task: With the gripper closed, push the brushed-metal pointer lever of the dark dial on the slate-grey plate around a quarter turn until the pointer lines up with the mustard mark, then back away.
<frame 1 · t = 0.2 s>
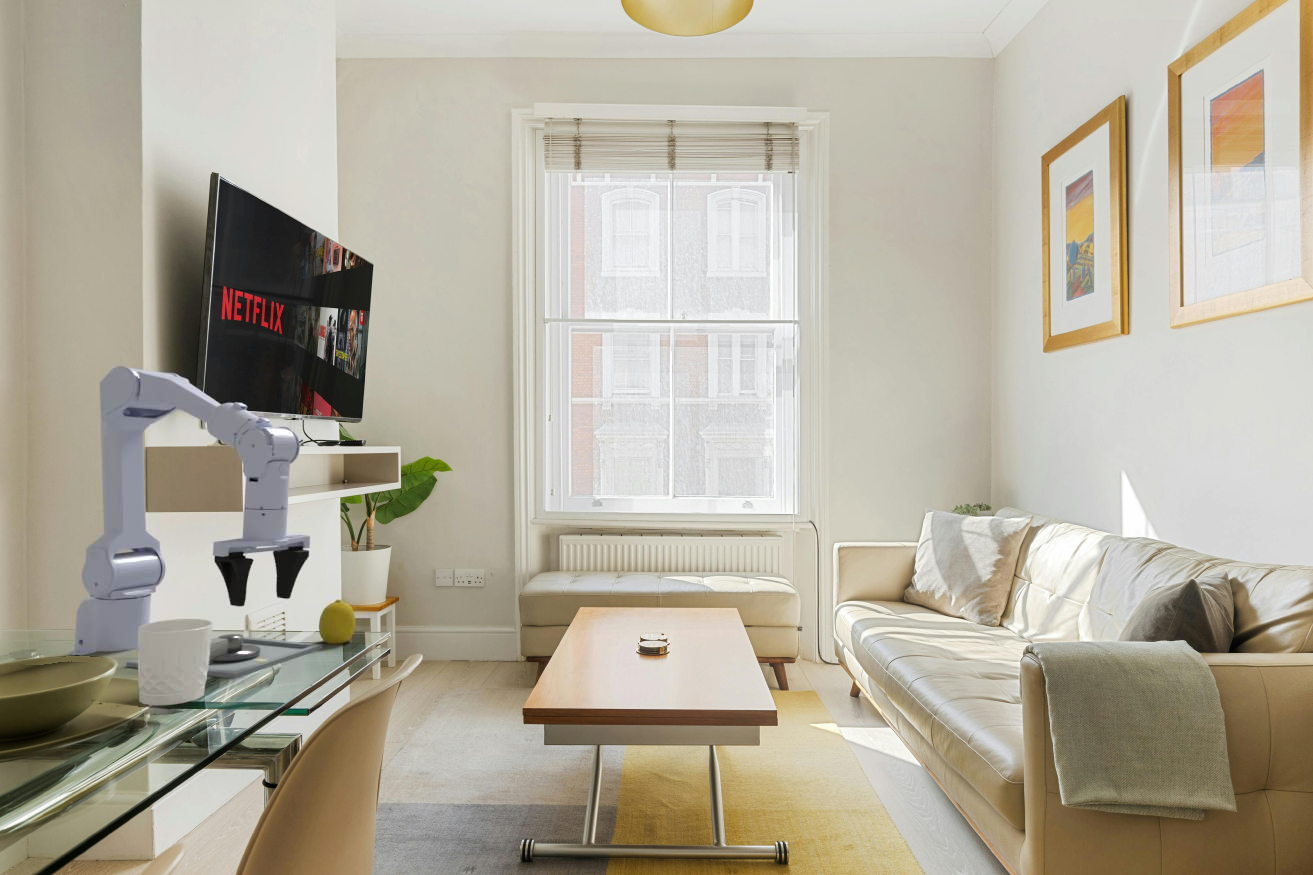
hand: (261, 601, 113), 10 cm above the table, tool pointing down, fingers open, 7 cm apart
white cup: (172, 707, 96), on the table
dial: (222, 648, 114), point 3 cm above the table, hinge at -90.0°
dial plate: (229, 664, 115), on the table
lemon: (336, 649, 127), on the table
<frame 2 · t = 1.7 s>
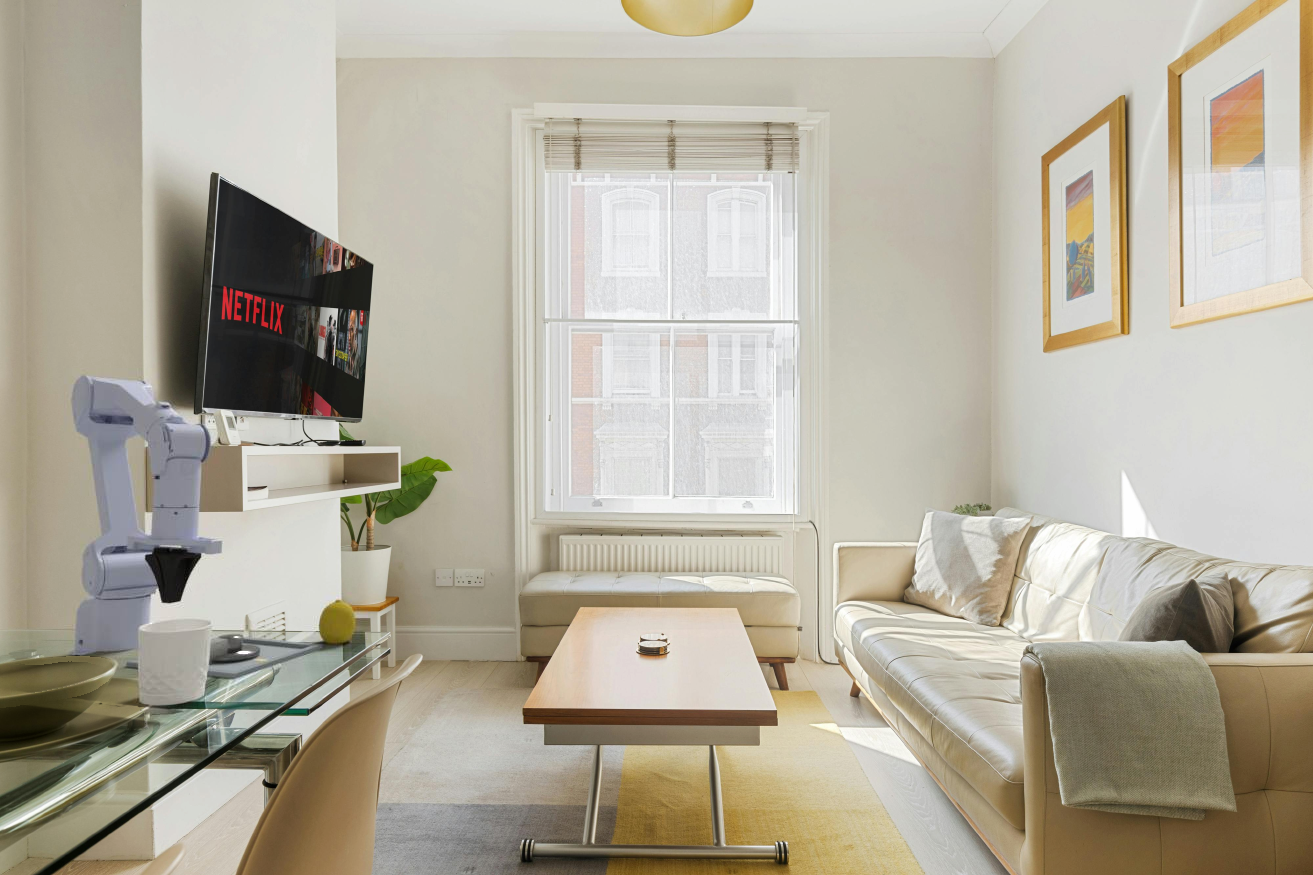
hand: (171, 602, 111), 10 cm above the table, tool pointing down, fingers closed
nothing on the table moved.
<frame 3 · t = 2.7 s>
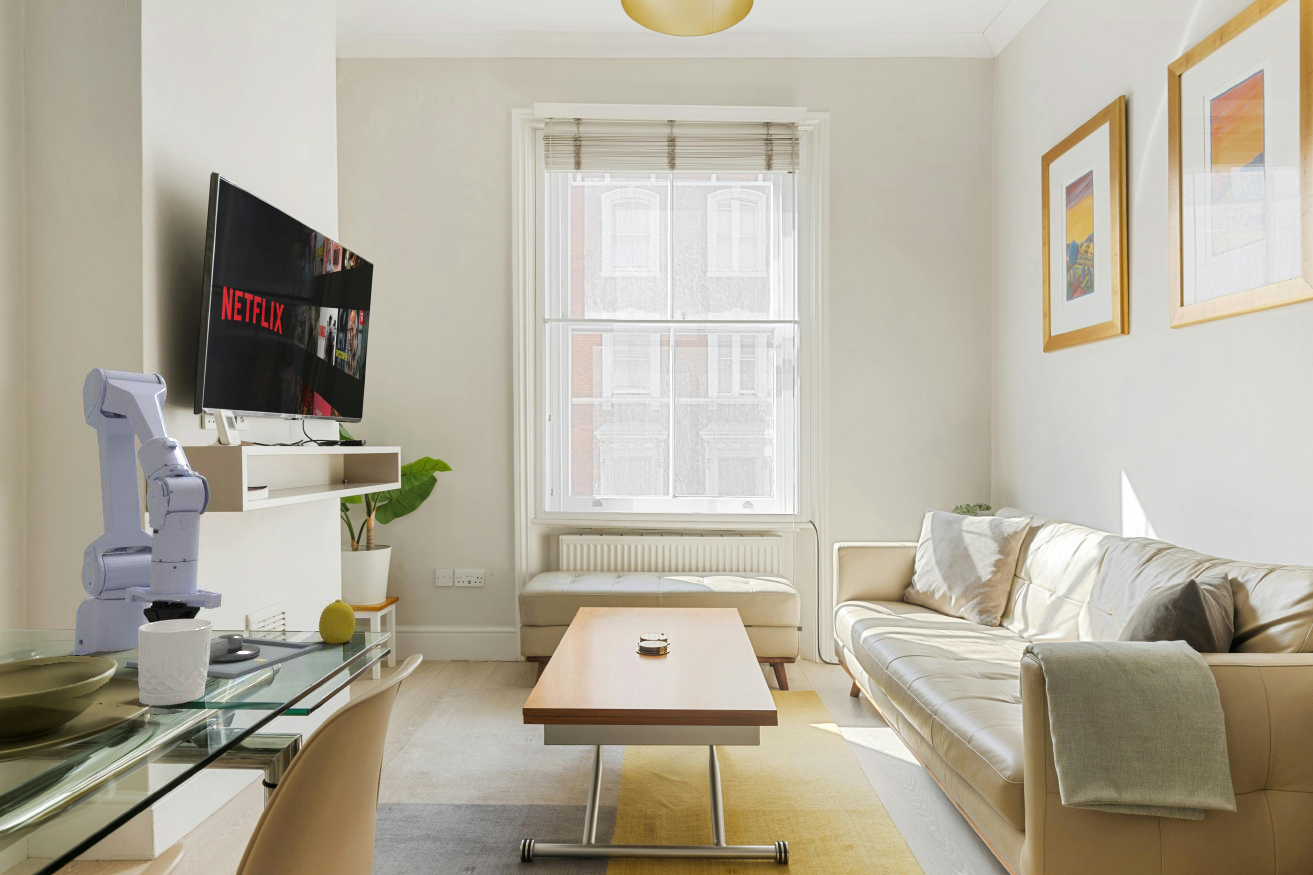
hand: (169, 655, 111), 2 cm above the table, tool pointing down, fingers closed
nothing on the table moved.
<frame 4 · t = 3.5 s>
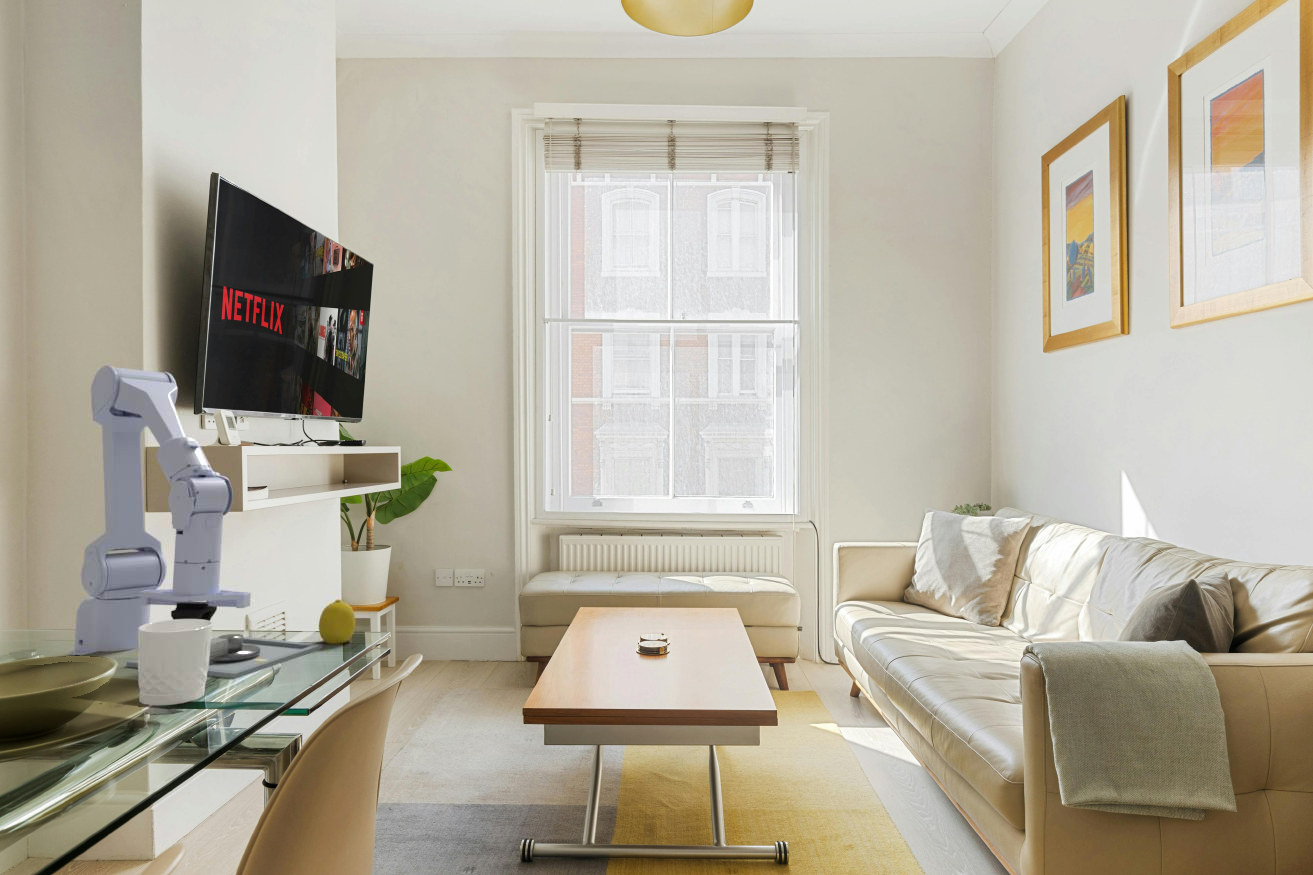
hand: (192, 657, 110), 2 cm above the table, tool pointing down, fingers closed, pressing on dial
dial: (222, 648, 114), point 3 cm above the table, hinge at -87.3°, touching gripper
everything else where it was.
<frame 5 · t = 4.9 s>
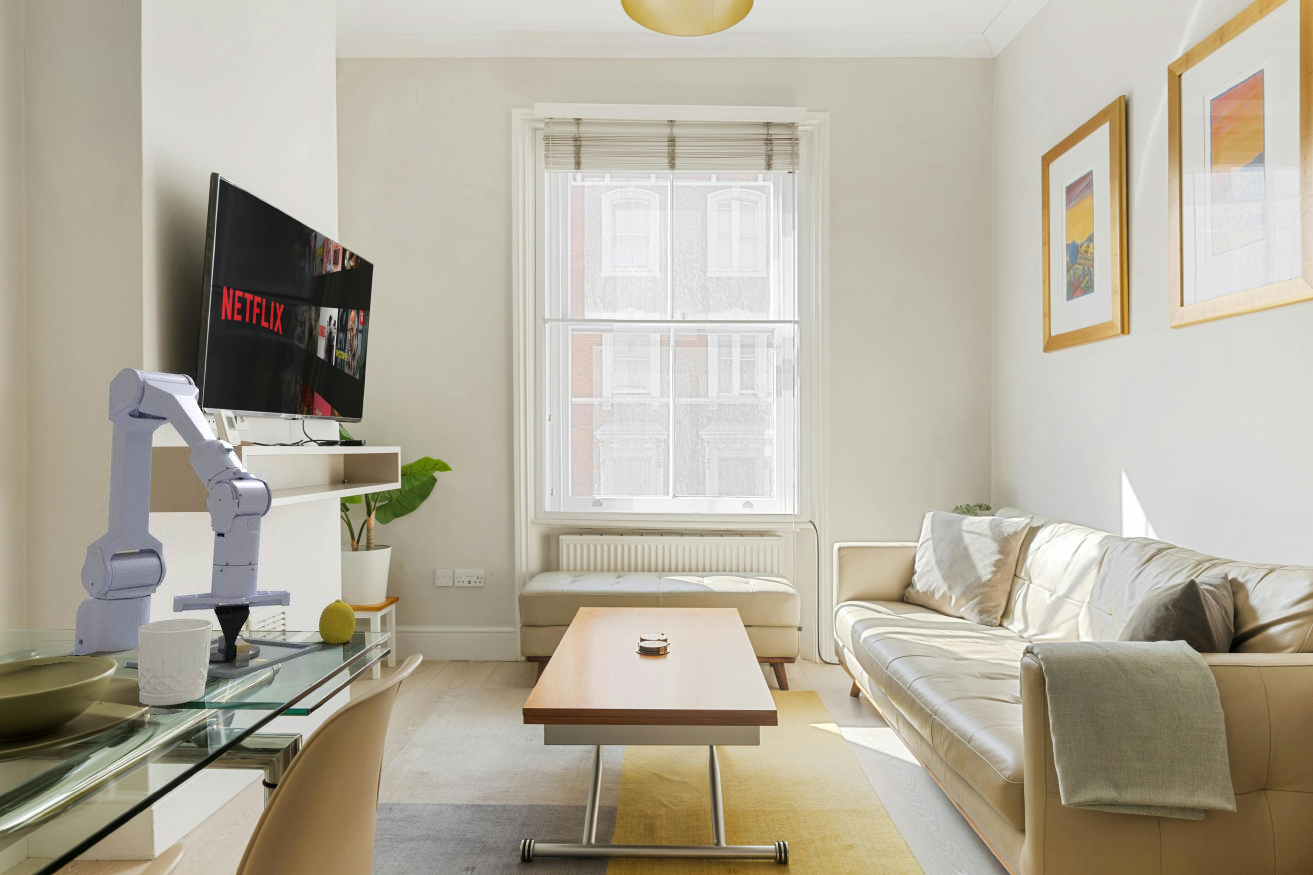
hand: (229, 659, 110), 2 cm above the table, tool pointing down, fingers closed, pressing on dial
dial: (232, 647, 114), point 3 cm above the table, hinge at -34.4°, touching gripper
everything else where it was.
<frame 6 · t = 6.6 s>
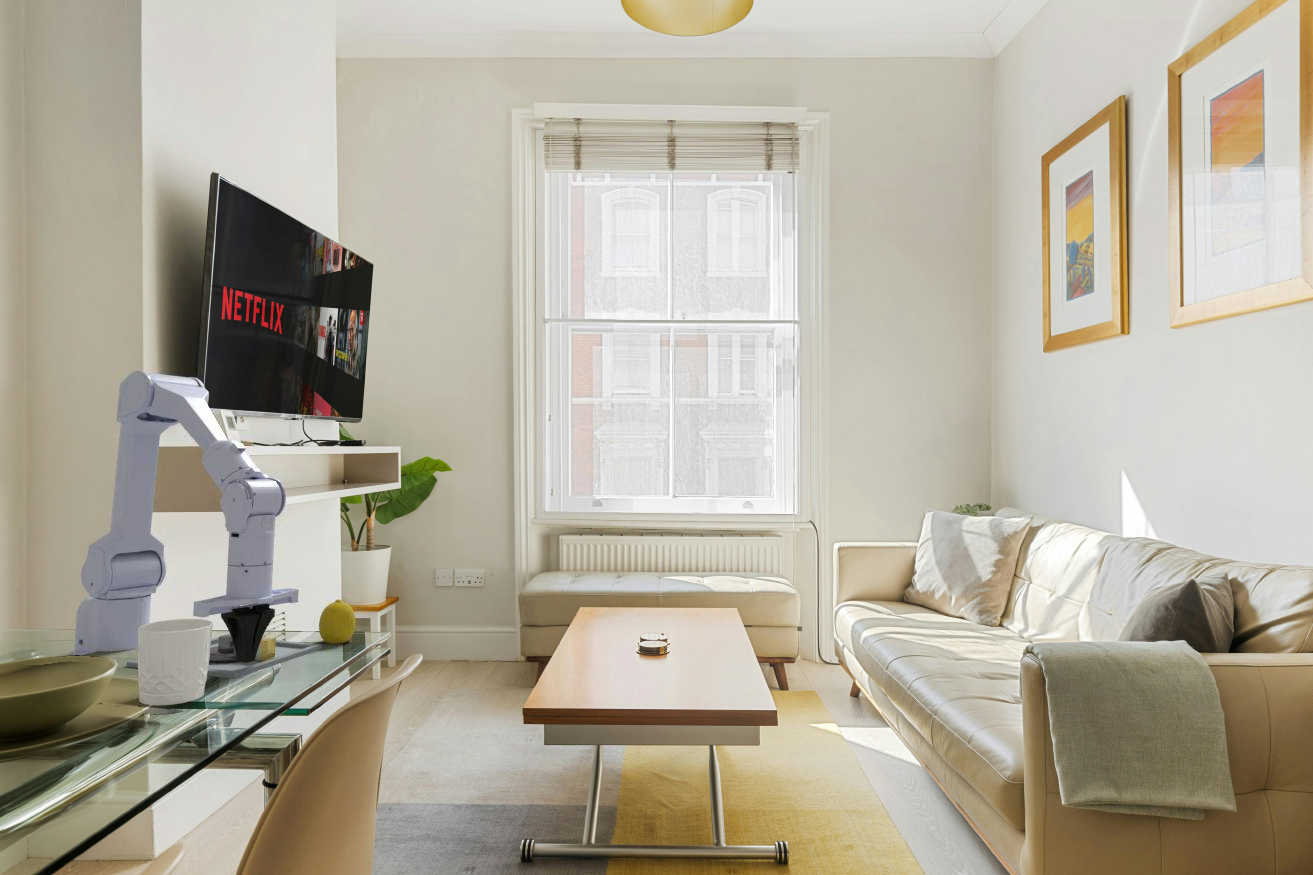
hand: (245, 660, 109), 2 cm above the table, tool pointing down, fingers closed
dial: (239, 646, 115), point 3 cm above the table, hinge at 1.4°
everything else where it was.
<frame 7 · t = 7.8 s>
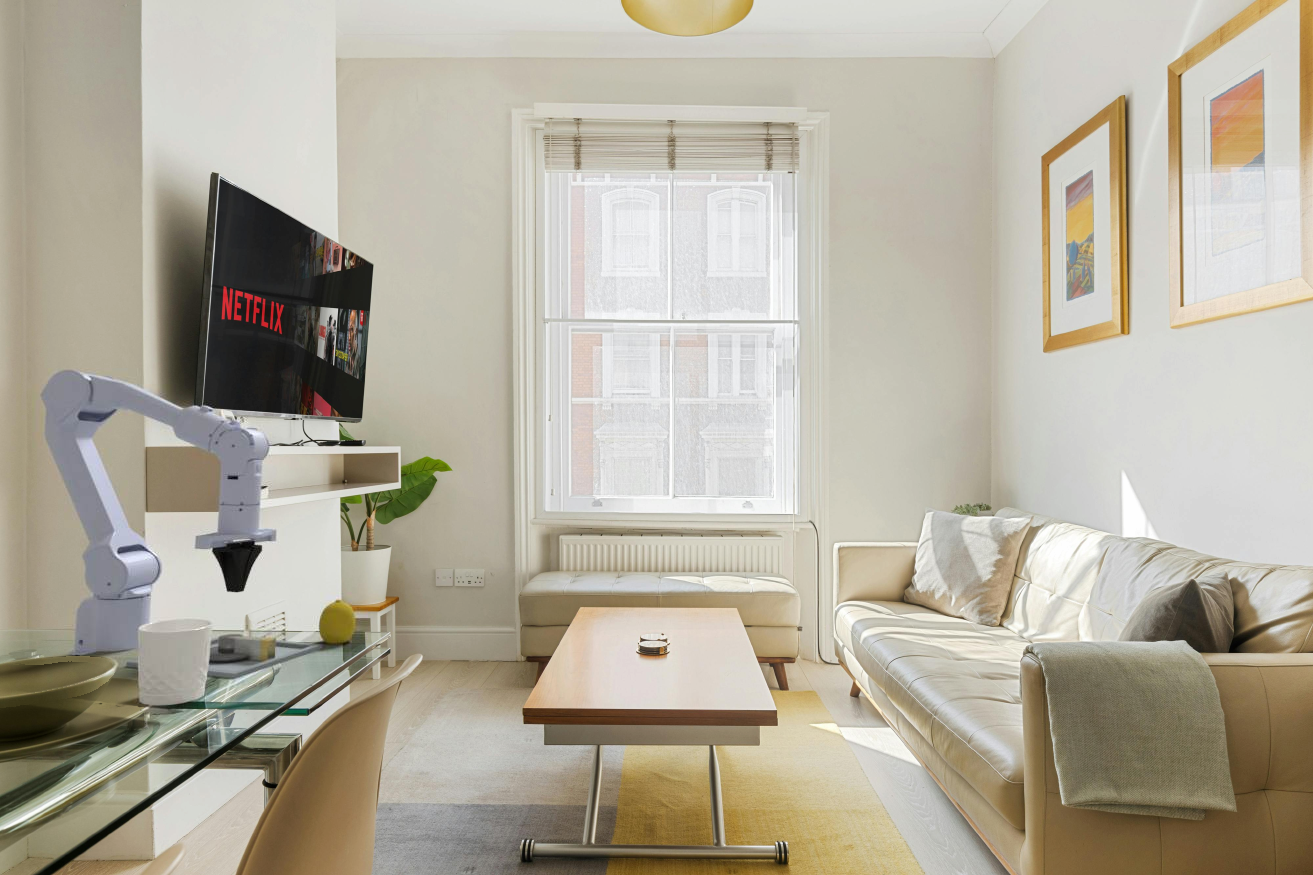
hand: (235, 591, 121), 10 cm above the table, tool pointing down, fingers closed
nothing on the table moved.
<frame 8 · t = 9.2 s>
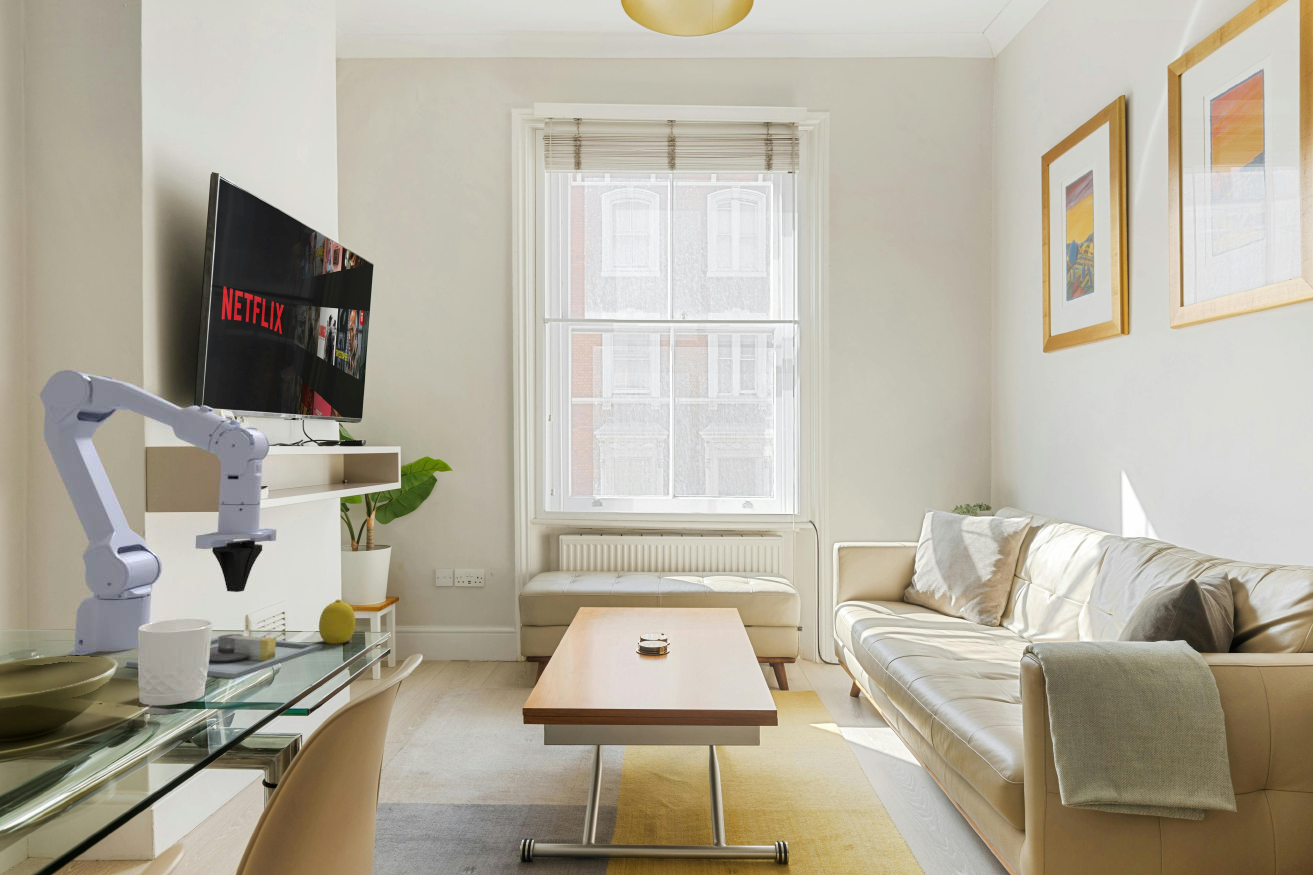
hand: (235, 590, 121), 10 cm above the table, tool pointing down, fingers closed
nothing on the table moved.
at the end: dial at +1° (first picture: -90°) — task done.
